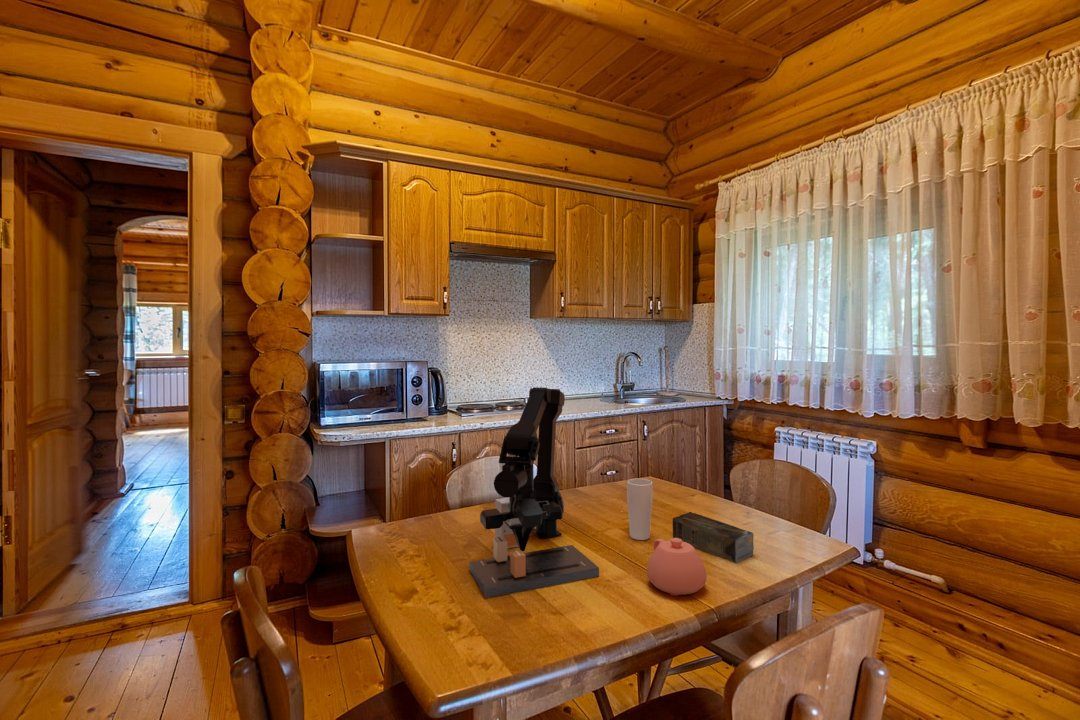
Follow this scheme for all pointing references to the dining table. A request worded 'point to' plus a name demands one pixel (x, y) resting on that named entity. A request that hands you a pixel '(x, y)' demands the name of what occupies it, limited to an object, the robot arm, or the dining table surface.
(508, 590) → the console
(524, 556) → the orange fader
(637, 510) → the drinking glass
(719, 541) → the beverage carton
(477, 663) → the dining table surface
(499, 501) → the skincare box
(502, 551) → the white fader
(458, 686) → the dining table surface
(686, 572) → the pink teapot
